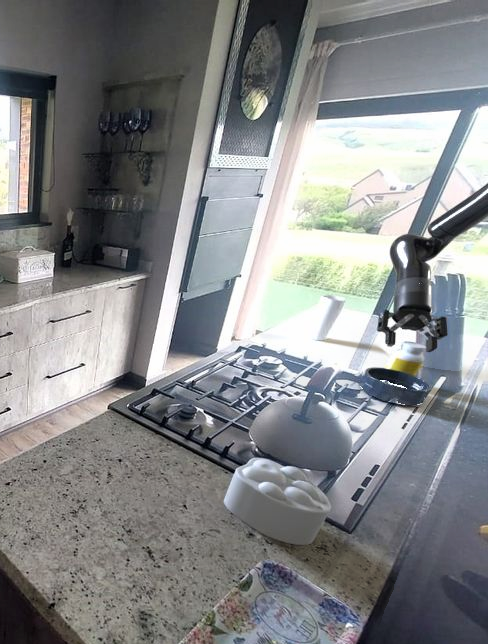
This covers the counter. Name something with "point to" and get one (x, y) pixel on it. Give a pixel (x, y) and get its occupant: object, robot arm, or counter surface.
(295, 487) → the lumpy-topped squat cylinder
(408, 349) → the pill bottle
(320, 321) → the drinking glass
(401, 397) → the ring
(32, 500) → the counter surface
